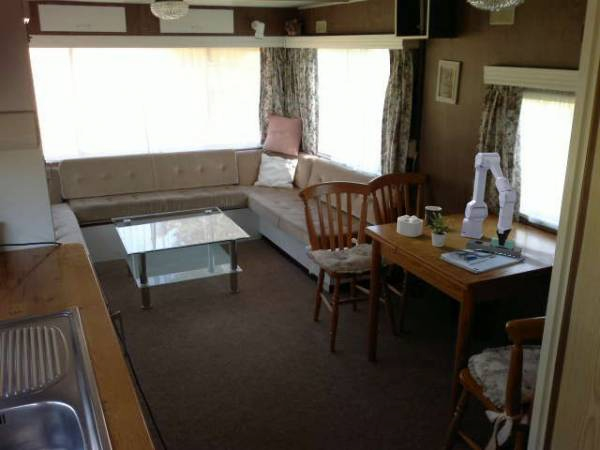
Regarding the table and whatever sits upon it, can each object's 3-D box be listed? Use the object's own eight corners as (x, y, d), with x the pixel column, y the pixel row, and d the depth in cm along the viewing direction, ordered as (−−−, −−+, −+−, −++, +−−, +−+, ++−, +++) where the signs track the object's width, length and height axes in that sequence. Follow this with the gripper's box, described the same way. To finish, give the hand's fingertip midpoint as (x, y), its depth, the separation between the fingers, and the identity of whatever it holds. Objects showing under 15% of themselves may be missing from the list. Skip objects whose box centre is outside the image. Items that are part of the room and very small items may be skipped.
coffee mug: (427, 222, 303) (428, 205, 300) (442, 225, 298) (444, 207, 296) (418, 227, 294) (420, 209, 291) (433, 230, 289) (435, 212, 286)
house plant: (415, 241, 270) (417, 209, 266) (438, 238, 275) (441, 207, 271) (432, 250, 258) (435, 217, 253) (456, 247, 263) (459, 214, 258)
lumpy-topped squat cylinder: (412, 237, 277) (413, 221, 274) (391, 231, 286) (393, 215, 283) (424, 234, 283) (425, 217, 281) (404, 228, 293) (405, 212, 290)
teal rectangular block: (490, 249, 258) (491, 238, 256) (491, 248, 260) (492, 237, 259) (512, 253, 253) (514, 242, 252) (513, 252, 255) (515, 241, 254)
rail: (465, 248, 262) (466, 242, 261) (469, 245, 267) (469, 239, 266) (518, 258, 250) (519, 251, 250) (521, 254, 255) (522, 248, 255)
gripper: (511, 221, 244) (507, 250, 248) (517, 214, 256) (514, 242, 260) (495, 218, 248) (491, 247, 251) (502, 212, 260) (498, 239, 263)
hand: (502, 244), depth 256 cm, fingers closed on teal rectangular block, 3 cm apart
